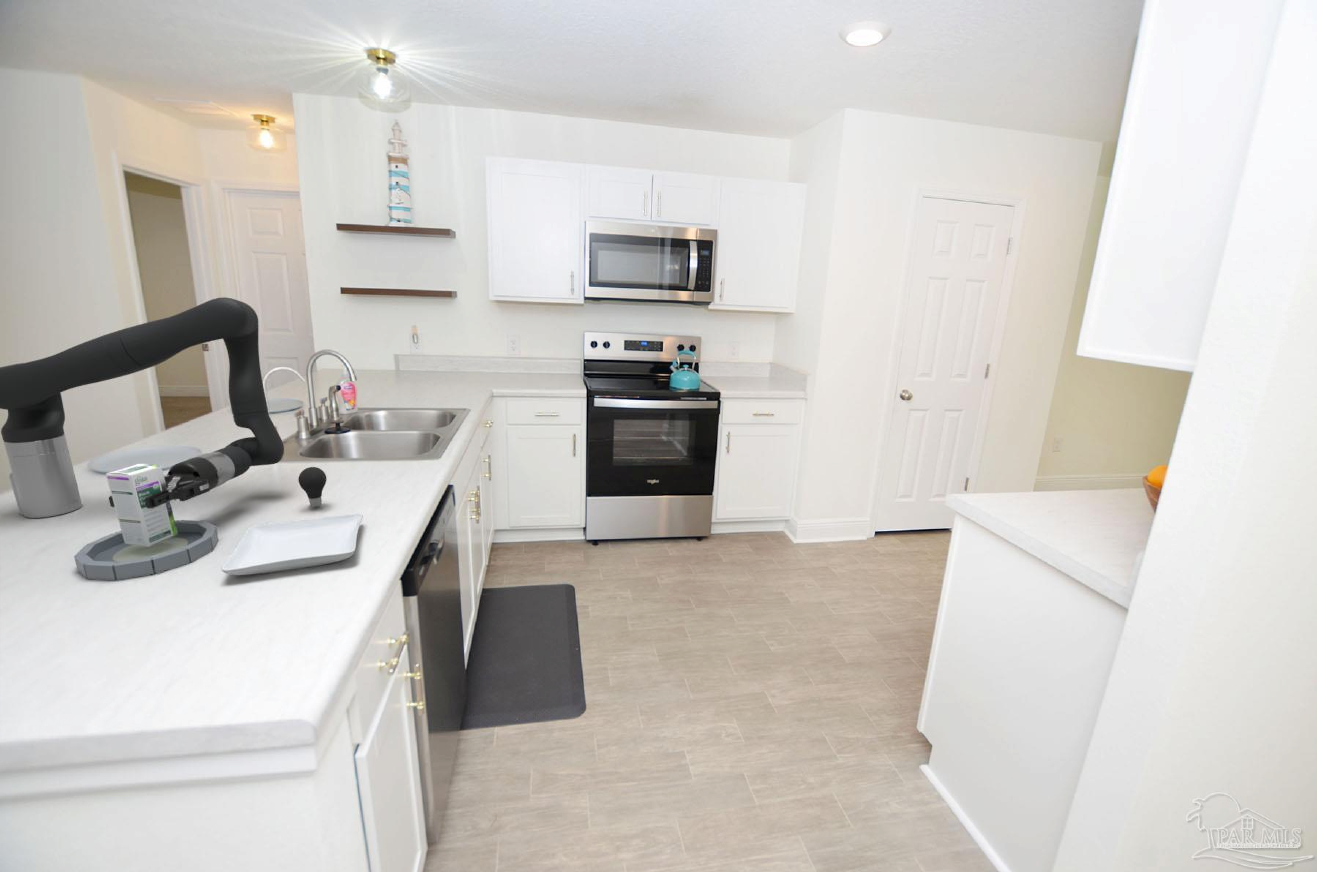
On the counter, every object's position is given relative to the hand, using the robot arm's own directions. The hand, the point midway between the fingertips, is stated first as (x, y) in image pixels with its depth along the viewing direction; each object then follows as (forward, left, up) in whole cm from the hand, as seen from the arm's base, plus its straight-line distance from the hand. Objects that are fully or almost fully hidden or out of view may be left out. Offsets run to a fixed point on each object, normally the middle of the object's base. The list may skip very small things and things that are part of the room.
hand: (129, 502), depth 106 cm
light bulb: (+16, +28, -12) cm, 34 cm away
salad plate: (+27, +6, -12) cm, 30 cm away
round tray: (0, +2, -11) cm, 12 cm away
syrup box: (0, +2, -9) cm, 9 cm away
